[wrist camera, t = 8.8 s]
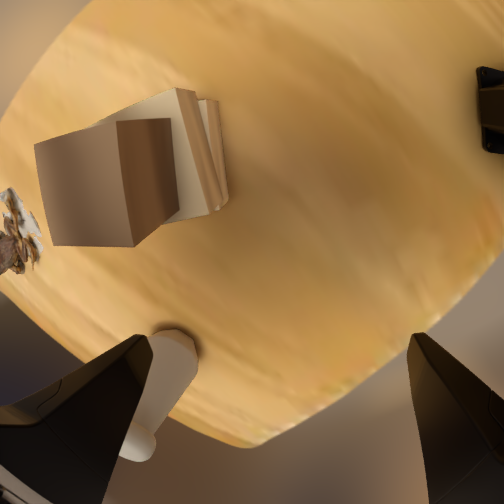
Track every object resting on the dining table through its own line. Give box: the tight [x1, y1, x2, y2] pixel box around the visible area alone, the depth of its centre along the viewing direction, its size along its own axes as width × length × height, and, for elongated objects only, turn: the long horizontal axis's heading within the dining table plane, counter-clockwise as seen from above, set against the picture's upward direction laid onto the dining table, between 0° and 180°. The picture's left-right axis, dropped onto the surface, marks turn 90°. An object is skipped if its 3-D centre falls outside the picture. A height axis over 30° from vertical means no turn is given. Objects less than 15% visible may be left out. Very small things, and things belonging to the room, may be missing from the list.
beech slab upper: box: [85, 88, 224, 225], centre depth 16 cm, size 7×7×3 cm
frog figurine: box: [0, 187, 43, 275], centre depth 26 cm, size 12×12×4 cm
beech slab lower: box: [198, 99, 229, 211], centre depth 19 cm, size 7×7×3 cm
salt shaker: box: [119, 329, 198, 462], centre depth 22 cm, size 6×6×13 cm
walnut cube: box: [34, 118, 180, 247], centre depth 13 cm, size 5×5×5 cm
